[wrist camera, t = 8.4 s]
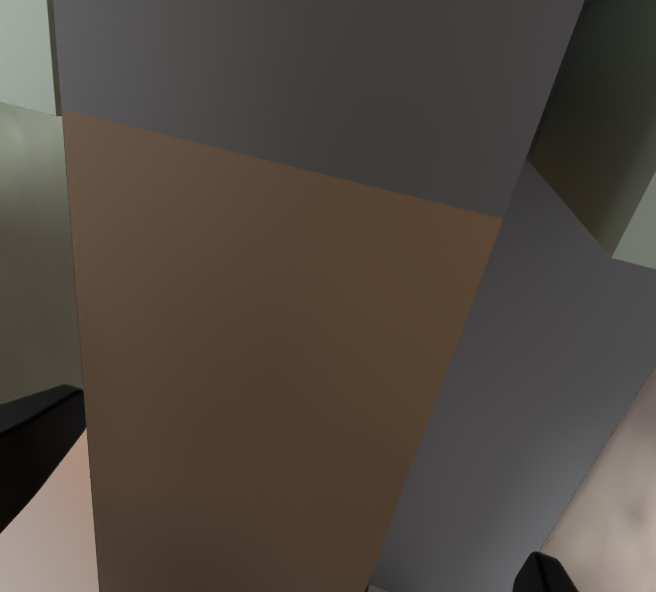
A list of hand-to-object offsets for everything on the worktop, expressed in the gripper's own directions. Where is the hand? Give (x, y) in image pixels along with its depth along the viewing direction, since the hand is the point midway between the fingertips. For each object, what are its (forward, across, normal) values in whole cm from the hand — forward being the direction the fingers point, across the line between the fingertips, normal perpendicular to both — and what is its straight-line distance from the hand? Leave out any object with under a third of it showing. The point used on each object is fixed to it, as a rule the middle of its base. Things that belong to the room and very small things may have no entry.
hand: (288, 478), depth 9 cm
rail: (+3, 0, 0) cm, 3 cm away
